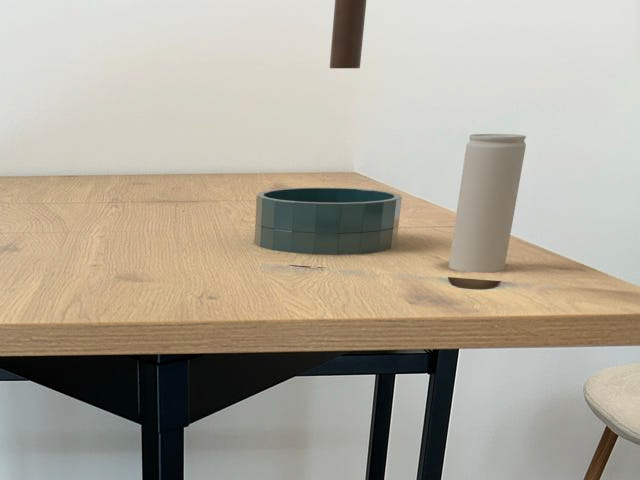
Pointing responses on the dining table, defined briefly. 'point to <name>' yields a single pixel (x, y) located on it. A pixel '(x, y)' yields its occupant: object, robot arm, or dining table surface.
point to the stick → (347, 33)
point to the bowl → (327, 220)
